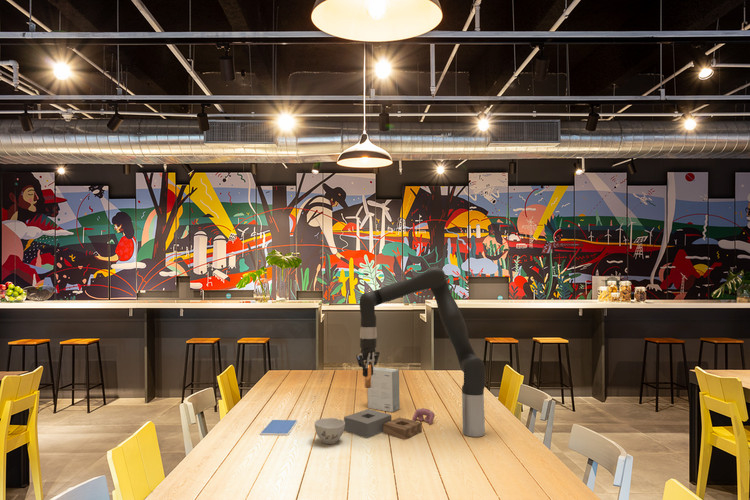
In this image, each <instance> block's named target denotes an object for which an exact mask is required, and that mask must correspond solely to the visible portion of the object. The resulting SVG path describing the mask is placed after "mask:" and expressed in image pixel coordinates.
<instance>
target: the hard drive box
mask: <svg viewBox="0 0 750 500" xmlns="http://www.w3.org/2000/svg"><path fill="white" fill-rule="evenodd" d="M400 402H401V401H400V370H399V369H395V368H386V367H377V366H376V367H375V366H374V367H373V375H372V376H371V388H367V409H371V410H376V411H378V410H379V411H383V412H390V413H394V412H396V411H398V410H400V409H401V408H400V407H401V406H400Z"/></svg>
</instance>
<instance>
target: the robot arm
mask: <svg viewBox="0 0 750 500" xmlns="http://www.w3.org/2000/svg"><path fill="white" fill-rule="evenodd" d="M423 290H430V291H431V292H432V294H433V296H434V298H435V301H436V306H437V310H438V314H439V317H440V320H441V323H442V326H443V327H444V330H445V332H446V334H447V336H448V339H449V341H450V343H451V344H452V346H453V348H454V351H455V354H456V357H457V359H458V364H459V367H460V370H461V371H462V372H463V385H462V386H461V398H462V399H461V400H462V402H461V403H462V404H461V408H462V409H461V411H462V415H461V417H462V420H461V421H462V434H463V435H465V436H467V437H472V438H479V437H483V436H485V433H486V432H485V431H486V427H485V418H486V417H485V397H484V393H485V392H484V390H485V387H486V366H485V363H484V360H483V359H481V358H480V357H478V355H477V354H476V352H475V351H474V349H473V346H472V345H471V342H470V339H469V334H468V329H467V325H466V321H465V320H464V317H463V313H462V312H461V310H460V308H459V306H458V304H457V302H456V300H455V298H454V297H453V295H452V293H451V291H450V287H449V284H448V281H447V278H446V273H445V271H444V270H443V268H441V267H439V266H433V265H432V266H430V267H428V268H427V269H426V270H425V271H424V272H422V273H421V274H418V275H416V276H415V277H414V276H413V277H411V278H409V279H404V280H401V281H397V282H394V283H391V284H388V285H385V286H382V287H381V288H379V289H375V290H372V291H369V292H364V293H363V294H361V296H360V298H359V313H360V330H359V347H360V349H361V350H360V353H359V354H356V356H355V357H356V360H357V363H358V367H360V368H362V377H363V378H365V377H367V376H368V368H367V367H368V364H371V376H372V375H373V368H374V367H375V366H376V365H378V364H377V363H378V361H379V357H380V351H376V348H377V346H378V345H377V343H378V341H377V340H378V338H377V337H378V336H377V333H378V331H377V330H378V329H377V316H376V313H375V310H376V309H375V307H377V306H379V305H383V304H384V303H388V302H391V301H395V300H397V299H400V298H403V297H405V296H407V295H410V294H413V293H416V292H420V291H423Z"/></svg>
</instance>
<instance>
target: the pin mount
mask: <svg viewBox="0 0 750 500" xmlns="http://www.w3.org/2000/svg"><path fill="white" fill-rule="evenodd" d="M422 432H423V423H422V421H413V420H412V419H408V418H405V417H401V416H400V417H397V418H394V419H391V421H389V422H386V423H384V424H383V432H382V434H385V435H388V436H391V437H394V438H398V439H401V440H407V439H410V438H412V437H415V436H416V435H418V434H421V433H422Z"/></svg>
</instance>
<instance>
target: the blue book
mask: <svg viewBox="0 0 750 500" xmlns="http://www.w3.org/2000/svg"><path fill="white" fill-rule="evenodd" d="M297 424H298V420H297V419H288V420H287V419H272V420H270V422H269V423H268V424H267V425H266V426H265V427H264V428H263V429H262V431H260V433H259V435H260V436H276V437H277V436H281V437H283V436H289V435H290V433H291V432H292V431H293V429H294V427H295V426H296V425H297Z"/></svg>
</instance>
